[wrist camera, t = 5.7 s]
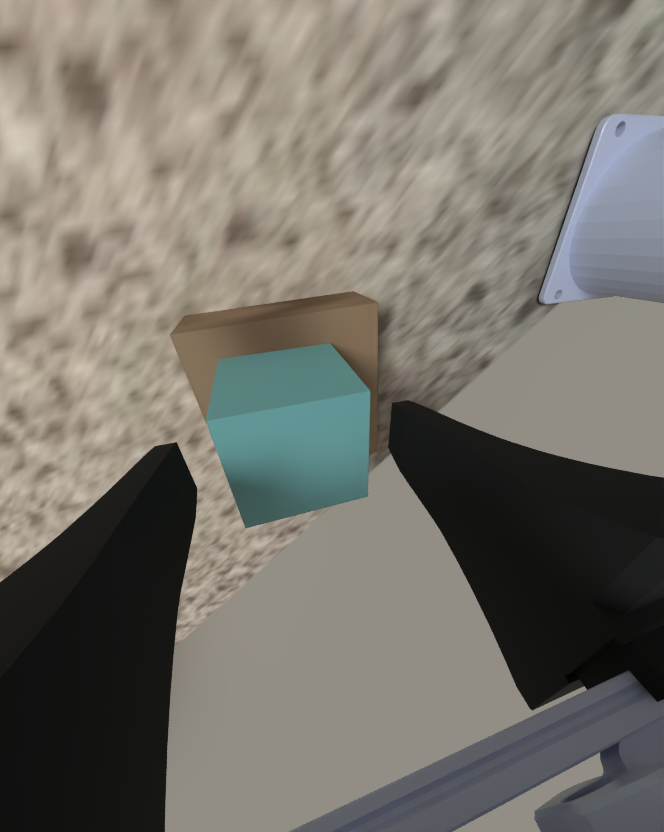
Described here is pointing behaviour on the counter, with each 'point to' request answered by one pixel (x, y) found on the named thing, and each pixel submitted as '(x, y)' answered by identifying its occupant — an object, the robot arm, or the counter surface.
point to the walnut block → (283, 339)
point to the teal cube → (290, 431)
